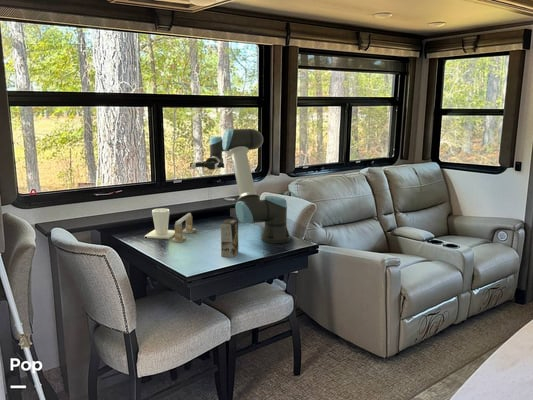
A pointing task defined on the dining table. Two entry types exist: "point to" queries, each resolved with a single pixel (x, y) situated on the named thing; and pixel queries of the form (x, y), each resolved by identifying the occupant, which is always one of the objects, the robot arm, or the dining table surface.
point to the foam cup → (161, 220)
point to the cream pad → (164, 236)
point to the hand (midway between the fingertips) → (203, 166)
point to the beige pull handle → (178, 230)
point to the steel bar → (183, 218)
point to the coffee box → (229, 238)
